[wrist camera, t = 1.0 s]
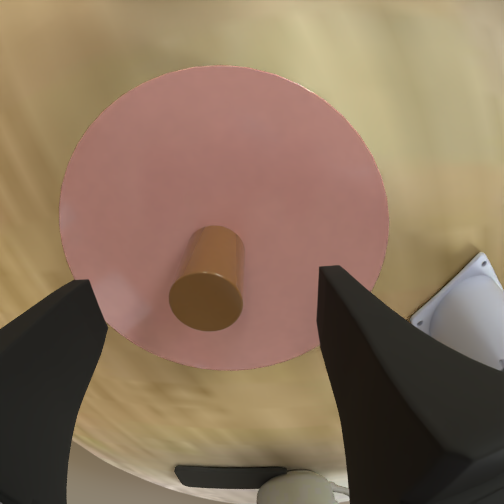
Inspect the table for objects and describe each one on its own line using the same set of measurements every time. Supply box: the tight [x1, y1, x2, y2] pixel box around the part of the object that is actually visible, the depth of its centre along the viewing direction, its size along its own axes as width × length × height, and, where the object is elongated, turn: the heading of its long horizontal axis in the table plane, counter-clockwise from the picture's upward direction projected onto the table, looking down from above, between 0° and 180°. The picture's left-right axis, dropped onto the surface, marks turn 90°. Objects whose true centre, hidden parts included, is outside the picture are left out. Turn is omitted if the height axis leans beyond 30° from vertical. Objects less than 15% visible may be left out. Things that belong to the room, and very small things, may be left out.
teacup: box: [257, 470, 349, 504], centre depth 33 cm, size 14×11×8 cm
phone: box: [174, 466, 287, 489], centre depth 36 cm, size 7×1×15 cm
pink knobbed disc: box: [59, 65, 389, 371], centre depth 12 cm, size 15×15×5 cm
